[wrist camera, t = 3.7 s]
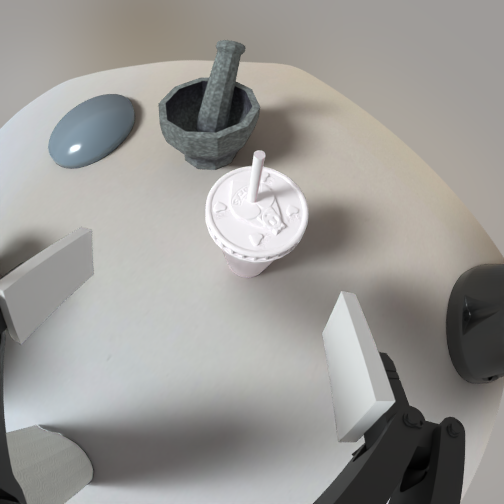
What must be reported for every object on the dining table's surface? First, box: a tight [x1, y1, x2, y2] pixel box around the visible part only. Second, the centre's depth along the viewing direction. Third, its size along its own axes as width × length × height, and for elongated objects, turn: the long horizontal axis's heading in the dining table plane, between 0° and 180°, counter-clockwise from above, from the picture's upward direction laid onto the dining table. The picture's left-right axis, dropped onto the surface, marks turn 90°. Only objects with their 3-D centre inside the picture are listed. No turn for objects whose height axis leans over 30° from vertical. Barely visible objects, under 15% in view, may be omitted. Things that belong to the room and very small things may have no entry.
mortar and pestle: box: [159, 40, 260, 170], centre depth 24 cm, size 11×9×12 cm
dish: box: [48, 94, 135, 169], centre depth 29 cm, size 13×13×1 cm
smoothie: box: [206, 150, 309, 278], centre depth 19 cm, size 6×6×14 cm
